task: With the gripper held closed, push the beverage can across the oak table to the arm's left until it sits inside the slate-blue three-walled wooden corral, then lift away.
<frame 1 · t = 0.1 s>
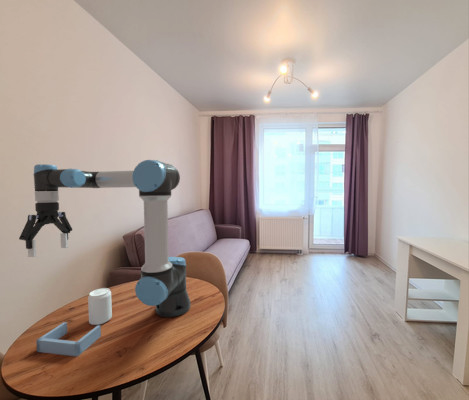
hand: (49, 251, 92), 28 cm above the table, fingers open, 13 cm apart
corral: (70, 343, 76), on the table
beverage can: (100, 320, 90), on the table
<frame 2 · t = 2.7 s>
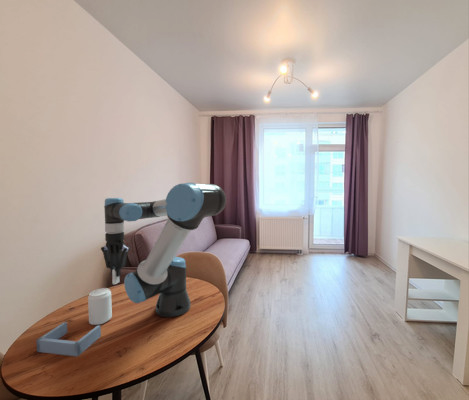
hand: (116, 282, 100), 11 cm above the table, fingers closed
nothing on the table moved.
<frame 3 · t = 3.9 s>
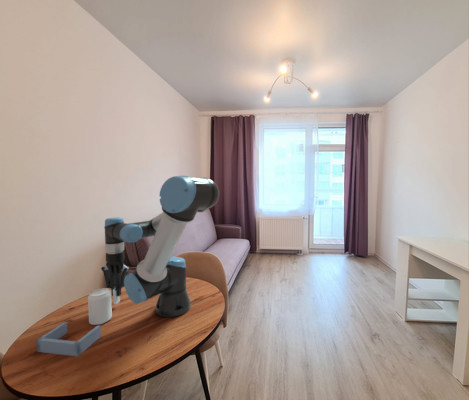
hand: (116, 302, 100), 2 cm above the table, fingers closed
nothing on the table moved.
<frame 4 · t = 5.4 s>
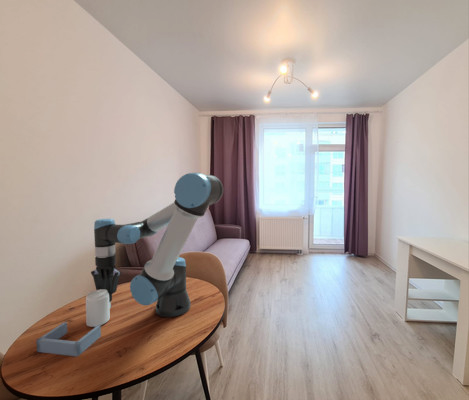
hand: (107, 308, 94), 3 cm above the table, fingers closed
beverage can: (98, 322, 89), on the table, touching gripper
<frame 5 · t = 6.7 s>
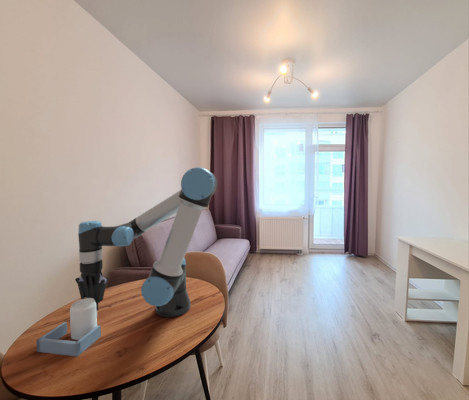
hand: (93, 319, 87), 3 cm above the table, fingers closed
beverage can: (84, 334, 81), on the table, touching gripper
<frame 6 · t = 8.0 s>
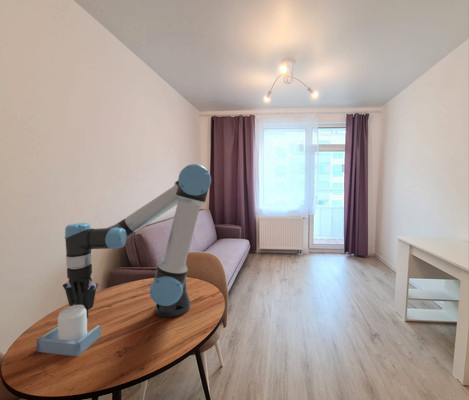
hand: (82, 327, 82), 2 cm above the table, fingers closed
beverage can: (73, 343, 77), on the table, touching corral, gripper
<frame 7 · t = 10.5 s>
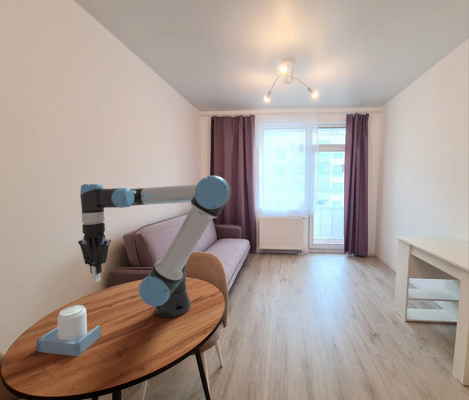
hand: (96, 281, 88), 17 cm above the table, fingers closed
beverage can: (73, 343, 77), on the table
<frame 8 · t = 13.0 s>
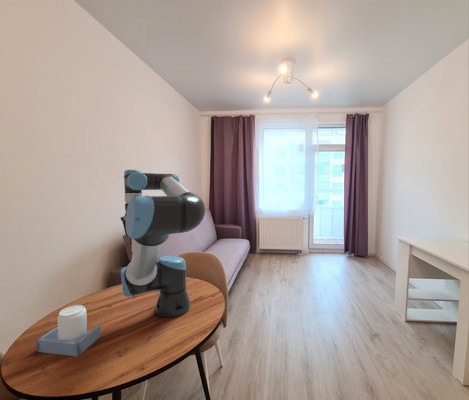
hand: (134, 251, 105), 24 cm above the table, fingers closed
nothing on the table moved.
at the end: beverage can inside the target area on the corral (1.1 cm from its centre), point 0.0 cm above the corral's base; beverage can tilted 0°; the gripper is holding nothing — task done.
